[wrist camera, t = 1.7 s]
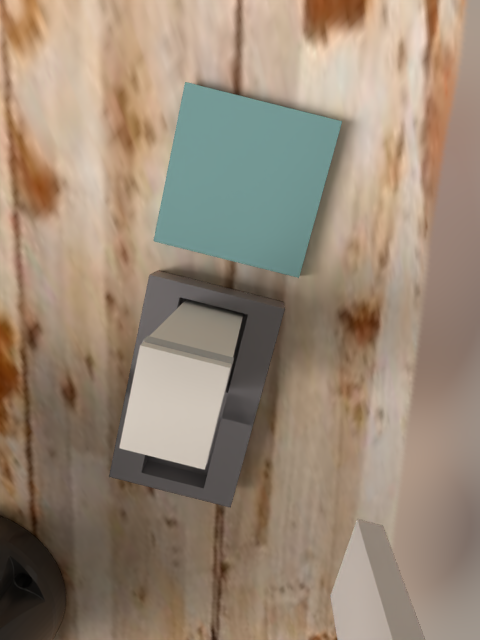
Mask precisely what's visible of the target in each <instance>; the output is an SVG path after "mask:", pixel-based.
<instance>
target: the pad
mask: <svg viewBox="0 0 480 640" xmlns="http://www.w3.org/2000/svg"><path fill="white" fill-rule="evenodd" d="M341 124H342V121H339V120H335V119H331V118H327V117H323V116H319V115H315V114H311V113H307V112H303V111H299V110H295V109H291V108H287V107H283V106H279V105H275V104H271V103H267V102H263V101H259V100H255V99H251V98H247V97H243V96H239V95H235V94H231V93H227V92H223V91H219V90H215V89H211V88H207V87H203V86H199V85H195V84H191V83H187V82H185V86H184V91H183V96H182V101H181V106H180V111H179V116H178V121H177V126H176V131H175V136H174V141H173V146H172V151H171V156H170V161H169V166H168V171H167V176H166V181H165V186H164V191H163V196H162V201H161V207H160V212H159V217H158V222H157V227H156V232H155V237H154V241H155V242H159V243H163V244H167V245H171V246H175V247H179V248H183V249H187V250H191V251H194V252H198V253H202V254H206V255H210V256H214V257H218V258H222V259H226V260H230V261H234V262H238V263H242V264H246V265H250V266H254V267H258V268H262V269H266V270H270V271H274V272H278V273H282V274H286V275H290V276H294V277H298V278H299V276H300V272H301V269H302V265H303V261H304V258H305V254H306V251H307V247H308V243H309V240H310V236H311V232H312V229H313V225H314V222H315V218H316V214H317V211H318V207H319V203H320V200H321V196H322V193H323V189H324V185H325V182H326V178H327V174H328V171H329V167H330V164H331V160H332V156H333V153H334V149H335V145H336V142H337V138H338V135H339V131H340V127H341Z"/></svg>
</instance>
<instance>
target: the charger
mask: <svg viewBox="0 0 480 640" xmlns="http://www.w3.org/2000/svg"><path fill="white" fill-rule="evenodd" d="M243 314H244V313H240V312H237V311H233V310H229V309H225V308H221V307H217V306H213V305H209V304H205V303H201V302H197V301H193V300H189V299H186V300H185V301H184V302H183V303H182V304H181V305H180V306H179V307H178V308H177V309H176V310H175V311H174V312H173V313H172V314H171V315H170V316H169V317H168V318H167V319H166V320H165V321H164V322H163V323H162V324H161V325H160V326H159V327H158V328H157V329H156V330H155V331H154V332H153V333H152V334H151V335H150V336H147V337H146V338H145V339H144V340H143V342H142V344H141V345H140V348H139V353H138V358H137V363H136V368H135V373H134V378H133V383H132V388H131V392H130V397H129V402H128V407H127V412H126V417H125V422H124V427H123V432H122V437H121V442H120V447H119V448H120V449H124V450H128V451H132V452H136V453H140V454H144V455H148V456H152V457H156V458H160V459H164V460H168V461H172V462H176V463H180V464H184V465H188V466H192V467H196V468H200V469H204V470H205V467H206V464H207V463H208V459H209V455H210V451H211V447H212V443H213V439H214V435H215V431H216V427H217V423H218V420H219V416H220V412H221V408H222V404H223V400H224V396H225V392H226V388H227V384H228V380H229V376H230V372H231V368H232V364H233V360H234V358H233V355H234V351H235V347H236V343H237V339H238V335H239V330H240V326H241V322H242V318H243Z"/></svg>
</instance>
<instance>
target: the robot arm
mask: <svg viewBox="0 0 480 640" xmlns="http://www.w3.org/2000/svg"><path fill="white" fill-rule="evenodd" d="M330 597H331V603H332V609H333V615H334V621H335V628H336V634H337V640H425V638H424V635H423V632H422V630H421V627H420V624H419V622H418V619H417V616H416V614H415V611H414V608H413V605H412V603H411V600H410V597H409V595H408V592H407V589H406V587H405V584H404V581H403V579H402V576H401V573H400V570H399V568H398V565H397V563H396V560H395V557H394V554H393V552H392V549H391V546H390V544H389V541H388V538H387V536H386V533H385V530H384V527H383V525H379V524H375V523H371V522H367V521H363V520H359V519H357V521H356V524H355V526H354V529H353V532H352V535H351V538H350V541H349V544H348V547H347V549H346V552H345V555H344V558H343V561H342V564H341V567H340V570H339V572H338V575H337V578H336V581H335V584H334V587H333V590H332V593H331V595H330ZM65 607H66V592H65V585H64V581H63V578H62V575H61V572H60V570H59V568H58V566H57V564H56V562H55V560H54V559H53V557H52V556H51V554H50V553H49V552H48V550H47V549H46V548H45V547H44V546H43V544H42V543H41V542H40V541H39V540H38V539H37V538H35V537H34V536H33V535H32V534H31V533H29V532H28V531H27V530H25V529H24V528H22V527H21V526H19V525H17V524H16V523H14V522H12V521H10V520H8V519H6V518H3V517H1V516H0V640H53V638H54V636H55V634H56V633H57V631H58V629H59V627H60V624H61V622H62V620H63V617H64V613H65Z"/></svg>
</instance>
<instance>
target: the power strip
mask: <svg viewBox="0 0 480 640" xmlns="http://www.w3.org/2000/svg"><path fill="white" fill-rule="evenodd" d="M186 299H189V300H193V301H197V302H201V303H205V304H209V305H213V306H217V307H221V308H225V309H229V310H233V311H237V312H240V313H244V314H243V318H242V322H241V326H240V330H239V335H238V339H237V343H236V347H235V351H234V355H233V358H234V360H233V364H232V368H231V372H230V376H229V380H228V384H227V388H226V392H225V396H224V400H223V404H222V408H221V412H220V416H219V420H218V423H217V427H216V431H215V435H214V439H213V443H212V447H211V451H210V455H209V459H208V463H207V464H206V467H205V470H204V469H200V468H196V467H192V466H188V465H184V464H180V463H176V462H172V461H168V460H164V459H160V458H156V457H152V456H148V455H144V454H140V453H136V452H132V451H128V450H124V449H120V448H119V447H120V442H121V437H122V432H123V427H124V422H125V417H126V412H127V407H128V402H129V397H130V392H131V388H132V383H133V378H134V373H135V368H136V363H137V358H138V353H139V348H140V345H141V344H142V342H143V340H144V339H145V338H146V337H147V336H150V335H151V334H152V333H153V332H154V331H155V330H156V329H157V328H158V327H159V326H160V325H161V324H162V323H163V322H164V321H165V320H166V319H167V318H168V317H169V316H170V315H171V314H172V313H173V312H174V311H175V310H176V309H177V308H178V307H179V306H180V305H181V304H182V303H183V302H184V301H185V300H186ZM284 310H285V307H284V303H283V302H282V301H278V300H274V299H270V298H266V297H262V296H258V295H254V294H250V293H246V292H242V291H238V290H234V289H230V288H226V287H222V286H218V285H214V284H210V283H206V282H202V281H198V280H194V279H190V278H186V277H182V276H178V275H174V274H170V273H166V272H162V271H156V272H154V273H152V274H150V275H149V279H148V284H147V289H146V294H145V299H144V304H143V309H142V314H141V319H140V324H139V329H138V334H137V339H136V344H135V349H134V354H133V359H132V364H131V370H130V375H129V380H128V385H127V390H126V395H125V400H124V405H123V410H122V415H121V420H120V425H119V430H118V435H117V440H116V445H115V450H114V455H113V460H112V465H111V470H110V475H109V477H112V478H116V479H120V480H124V481H128V482H132V483H136V484H140V485H144V486H148V487H152V488H155V489H159V490H163V491H167V492H171V493H175V494H179V495H183V496H187V497H191V498H195V499H199V500H203V501H207V502H211V503H215V504H219V505H223V506H227V507H231V504H232V500H233V497H234V493H235V489H236V486H237V482H238V478H239V475H240V471H241V467H242V464H243V460H244V456H245V453H246V449H247V445H248V442H249V438H250V434H251V431H252V427H253V423H254V420H255V416H256V412H257V409H258V405H259V401H260V398H261V394H262V391H263V387H264V383H265V380H266V376H267V372H268V369H269V365H270V361H271V358H272V354H273V350H274V347H275V343H276V339H277V336H278V332H279V328H280V325H281V321H282V317H283V314H284Z"/></svg>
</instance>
